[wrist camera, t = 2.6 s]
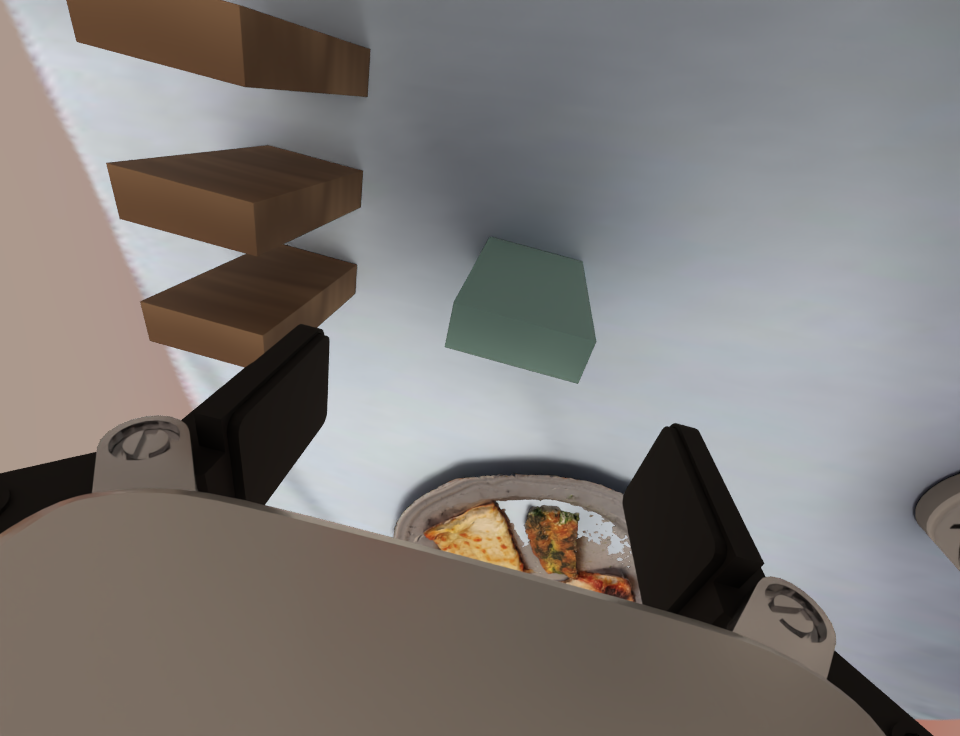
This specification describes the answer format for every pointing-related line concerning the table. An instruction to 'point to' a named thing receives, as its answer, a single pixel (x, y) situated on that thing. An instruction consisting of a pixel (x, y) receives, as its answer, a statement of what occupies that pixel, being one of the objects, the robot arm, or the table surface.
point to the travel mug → (942, 517)
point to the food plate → (552, 533)
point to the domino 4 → (525, 311)
